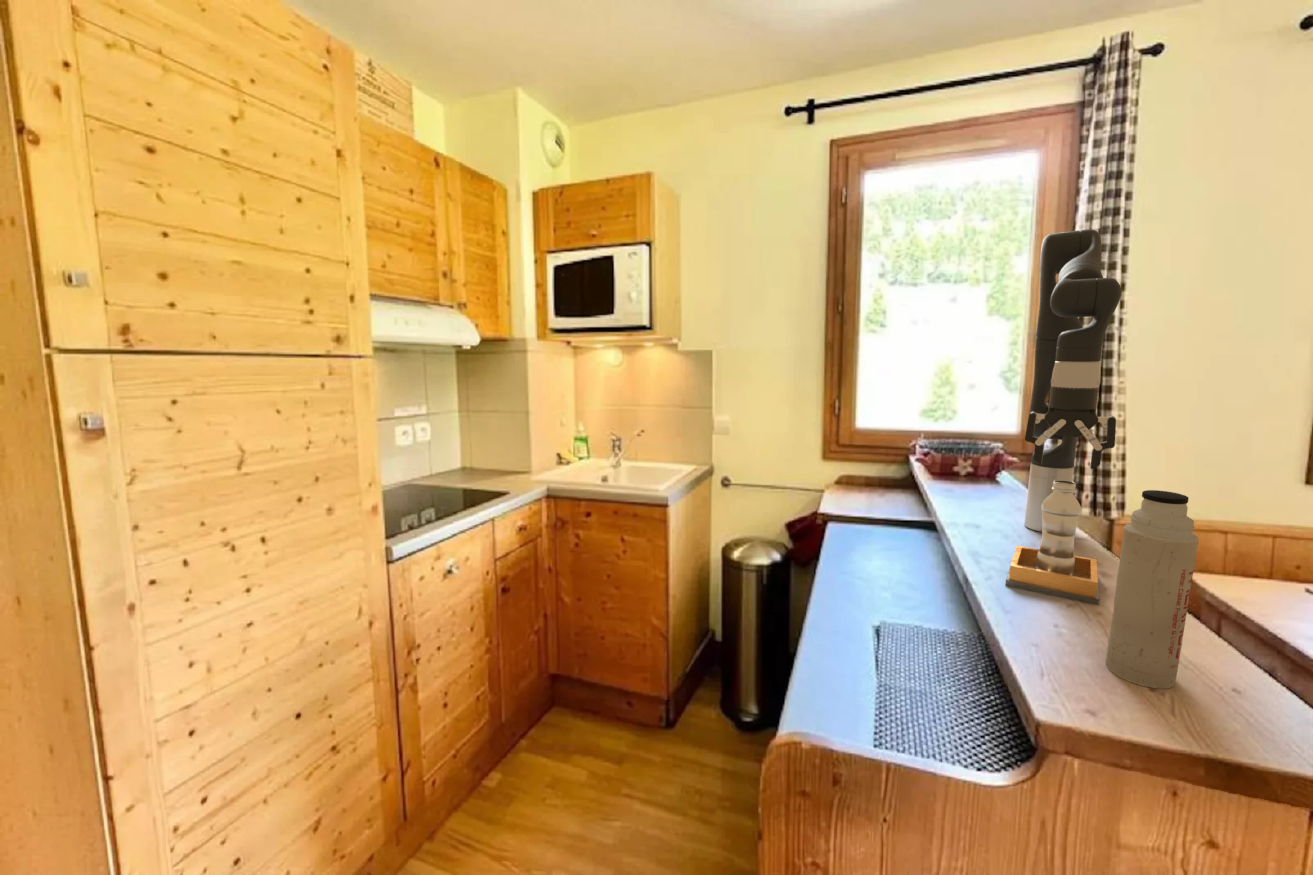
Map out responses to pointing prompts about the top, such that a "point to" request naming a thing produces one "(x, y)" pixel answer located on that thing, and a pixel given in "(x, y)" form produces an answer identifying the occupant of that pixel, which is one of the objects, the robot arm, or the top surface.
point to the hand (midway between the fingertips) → (1065, 465)
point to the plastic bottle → (1059, 529)
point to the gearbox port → (1054, 577)
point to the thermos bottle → (1152, 591)
